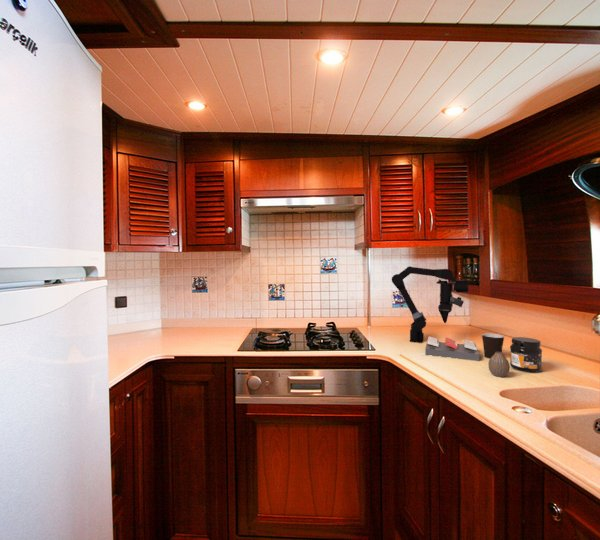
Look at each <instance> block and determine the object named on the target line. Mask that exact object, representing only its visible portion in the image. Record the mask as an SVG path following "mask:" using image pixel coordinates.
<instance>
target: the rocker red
mask: <svg viewBox="0 0 600 540" xmlns="http://www.w3.org/2000/svg"><path fill="white" fill-rule="evenodd" d="M444 340H445V342H444V343H445V345H448V346H450V347H453V348H455V349H457V347H458V346H457V344H458V342H457V340H454V339H452V338H450V337H447V336H446V337H445V339H444Z"/></svg>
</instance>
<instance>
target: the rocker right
mask: <svg viewBox="0 0 600 540" xmlns="http://www.w3.org/2000/svg"><path fill="white" fill-rule="evenodd" d="M462 341H463V343H462V344H464V347H466V348H469V349H473V350H476V351H477V349H478V346H477V343H476V342H475V341H470V340H468V339H463V340H462Z"/></svg>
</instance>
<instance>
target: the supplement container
mask: <svg viewBox="0 0 600 540" xmlns="http://www.w3.org/2000/svg"><path fill="white" fill-rule="evenodd" d="M541 343H542V341H541V340H539V339H537V338H533V337H532V338H531V337H526V336H525V337H524V336H515V337H512V338H511V344H510V346H509V348H510V350H509V351H510V354H509V355H510V356H509V357H510V358H509V359H510V362H509V365H510V367H511V368H513V369H514V370H516V371H519V372H524V373H531V374H532V373H534V374H536V373H540V372H541V371H542V370H543V368H542V363H543V362H542V361H543V359H542V357H543V355H542V354H543V349H542V348H541V346H542V344H541Z"/></svg>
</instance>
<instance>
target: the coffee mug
mask: <svg viewBox="0 0 600 540" xmlns="http://www.w3.org/2000/svg"><path fill="white" fill-rule="evenodd" d="M481 339H482V346H483V354H484V358H486V359H489V360H490V358H491V357H492V356H493V355H494V354H495V352H501V353H503V347H504V341H505V340H504V339H505V336H504V335H503V334H498V333H491V332H490V333H488V332H486V333H482V334H481Z"/></svg>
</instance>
